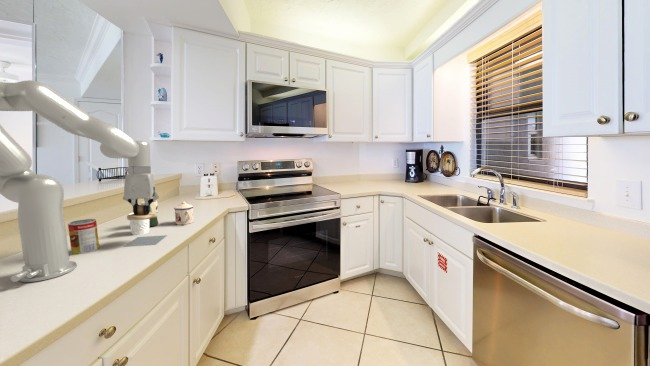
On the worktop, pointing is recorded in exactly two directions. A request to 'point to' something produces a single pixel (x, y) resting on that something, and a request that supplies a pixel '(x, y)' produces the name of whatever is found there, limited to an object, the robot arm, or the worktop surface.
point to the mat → (145, 241)
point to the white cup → (139, 226)
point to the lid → (141, 214)
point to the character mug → (154, 210)
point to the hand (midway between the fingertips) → (141, 214)
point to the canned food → (83, 236)
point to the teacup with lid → (184, 214)
